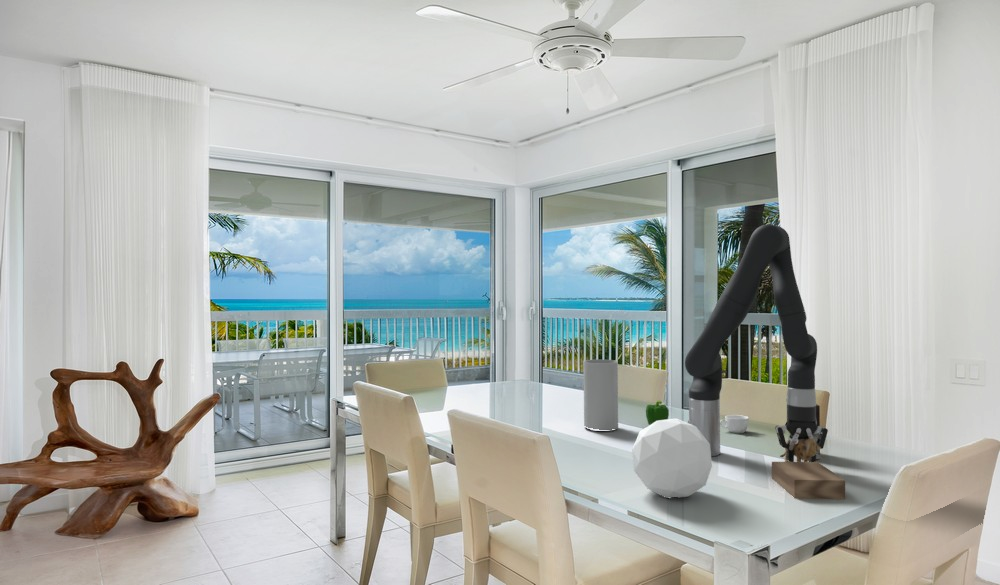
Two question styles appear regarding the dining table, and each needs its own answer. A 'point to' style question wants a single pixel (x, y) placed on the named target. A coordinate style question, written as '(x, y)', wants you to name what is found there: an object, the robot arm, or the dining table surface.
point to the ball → (672, 458)
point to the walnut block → (808, 480)
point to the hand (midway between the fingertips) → (801, 462)
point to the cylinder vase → (601, 394)
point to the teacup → (736, 423)
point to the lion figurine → (803, 450)
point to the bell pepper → (656, 412)
